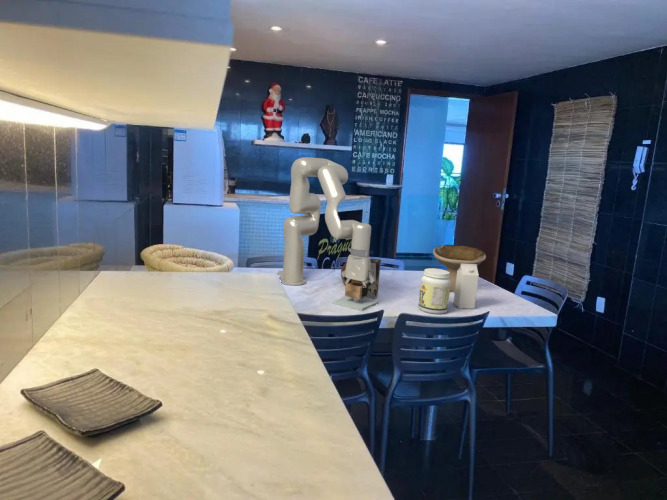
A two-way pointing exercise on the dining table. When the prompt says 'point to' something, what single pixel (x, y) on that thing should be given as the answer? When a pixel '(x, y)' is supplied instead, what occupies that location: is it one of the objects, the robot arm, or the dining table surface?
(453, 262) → the bowl
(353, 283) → the collar
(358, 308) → the post plate
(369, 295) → the coffee box
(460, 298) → the milk carton
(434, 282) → the supplement tub
